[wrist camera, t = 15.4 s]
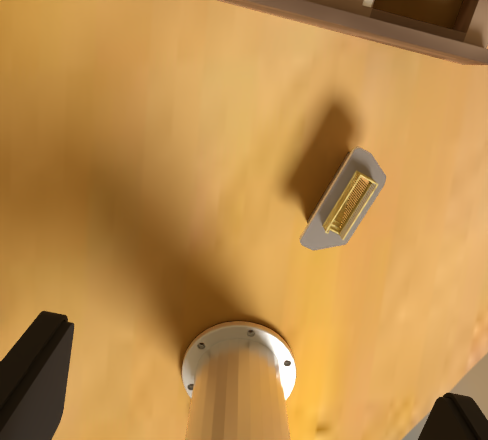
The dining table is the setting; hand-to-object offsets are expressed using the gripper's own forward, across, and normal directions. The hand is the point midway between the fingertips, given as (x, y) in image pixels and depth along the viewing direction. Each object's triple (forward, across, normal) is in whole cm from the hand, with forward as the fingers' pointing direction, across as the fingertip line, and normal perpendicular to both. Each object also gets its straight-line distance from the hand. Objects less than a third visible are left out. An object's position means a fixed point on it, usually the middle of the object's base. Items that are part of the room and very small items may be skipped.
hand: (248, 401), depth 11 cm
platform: (+34, -10, +2) cm, 35 cm away
